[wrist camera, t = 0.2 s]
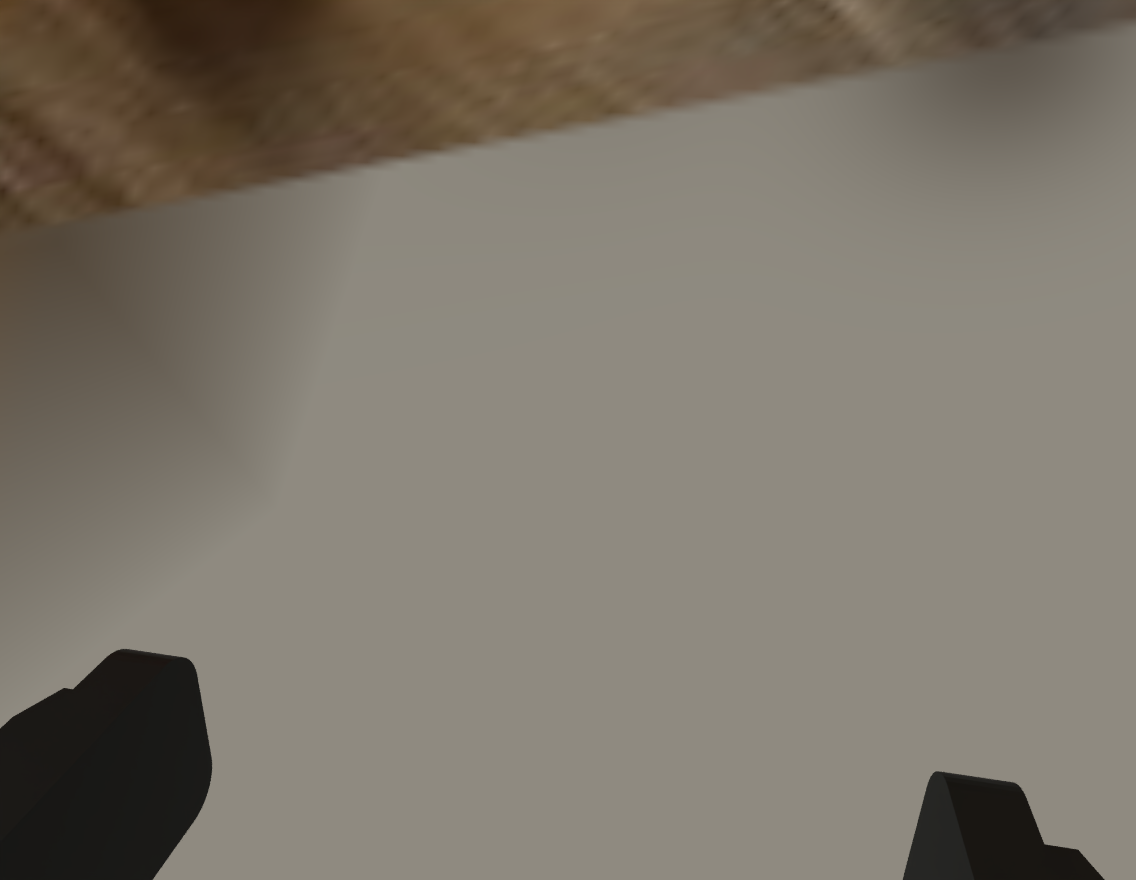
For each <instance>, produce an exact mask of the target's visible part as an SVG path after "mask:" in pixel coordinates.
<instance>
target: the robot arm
mask: <svg viewBox="0 0 1136 880" xmlns="http://www.w3.org/2000/svg"><path fill="white" fill-rule="evenodd" d="M211 774H212V758H211V752H210V746H209V740H208V735H207V729H206V723H205V717H204V712H203V706H202V701H201V694H200V689H199V684H198V677H197V673H196V669H195V667H194V665H193V663H192V662H191V661H190V660H189V659H187V658H183V657H177V656H171V655H163V654H156V653H150V652H143V651H137V650H130V649H121V650H117V651H115V652H113V653H112V654H110V655H109V656H108V657H106V658H105V659H104V660H103V661H102V662H101V663H100V664H99V665H98V666H97V667H96V668H95V669H94V670H93V671H92V672H91V673H90V674H88V675H87V676H86V677H85V678H84V680H82V681H81V682H80V683H79V684H78V685H77V686H76V687H75V688H74V689H67V688H63V689H62V690H60V691H58V692H56V693H54V694H53V695H51V696H49V697H47V698H46V699H44V700H42V701H40V702H39V703H37V704H35V705H33V706H31V707H30V708H28V709H26V710H24V711H23V712H21V713H19V714H17V715H15V716H14V717H12V718H11V719H10V720H9V721H8V722H7V723H6V724H5V725H4V726H2V727H1V728H0V880H153V878H154V877H155V875H156V874H157V873H158V871H159V870H160V868H161V867H162V866H163V864H164V863H165V861H166V860H167V858H168V857H169V856H170V854H171V853H172V851H173V850H174V849H175V847H176V846H177V844H178V843H179V842H180V840H181V839H182V837H183V836H184V835H185V833H186V832H187V830H188V829H189V828H190V826H191V825H192V823H193V822H194V820H195V819H196V817H197V816H198V814H199V812H200V810H201V808H202V806H203V804H204V801H205V799H206V796H207V793H208V789H209V786H210V781H211ZM903 880H1104V879H1103V877H1102V876H1101V875H1100V874H1099V873H1098V872H1097V871H1096V870H1095V868H1094V867H1093V866H1092V865H1091V864H1090V863H1089V862H1088V860H1087V859H1086V858H1085V857H1084V856H1083V855H1082V854H1081V853H1080V851H1079V850H1076V849H1070V848H1063V847H1058V846H1051V845H1045V844H1044V842H1043V840H1042V837H1041V835H1040V832H1039V830H1038V827H1037V824H1036V822H1035V819H1034V817H1033V814H1032V811H1031V809H1030V806H1029V804H1028V801H1027V798H1026V796H1025V794H1024V792H1023V791H1022V789H1021V788H1020V787H1019V786H1018V785H1017V784H1016V783H1013V782H1006V781H1000V780H993V779H986V778H980V777H973V776H966V775H959V774H952V773H945V772H934V773H933V775H932V776H931V777H930V780H929V782H928V785H927V788H926V792H925V796H924V800H923V804H922V808H921V812H920V815H919V819H918V823H917V827H916V831H915V834H914V838H913V842H912V846H911V850H910V854H909V857H908V861H907V865H906V869H905V873H904V877H903Z"/></svg>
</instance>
